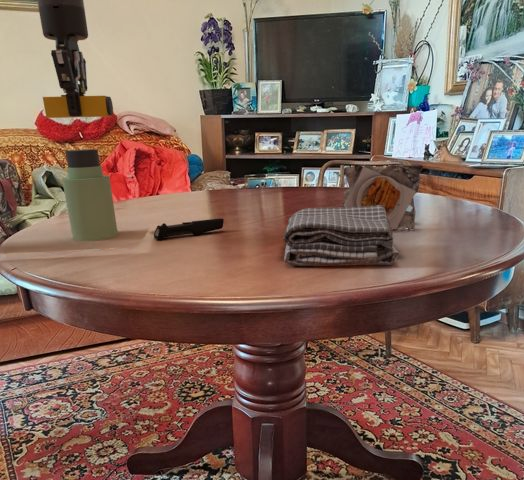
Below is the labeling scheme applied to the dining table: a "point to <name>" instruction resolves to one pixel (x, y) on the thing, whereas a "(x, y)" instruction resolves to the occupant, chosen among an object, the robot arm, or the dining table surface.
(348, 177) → the meal
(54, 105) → the bar
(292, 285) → the dining table surface
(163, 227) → the electric trimmer
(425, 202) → the dining table surface
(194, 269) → the dining table surface
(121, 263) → the dining table surface
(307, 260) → the towel
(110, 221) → the bottle
